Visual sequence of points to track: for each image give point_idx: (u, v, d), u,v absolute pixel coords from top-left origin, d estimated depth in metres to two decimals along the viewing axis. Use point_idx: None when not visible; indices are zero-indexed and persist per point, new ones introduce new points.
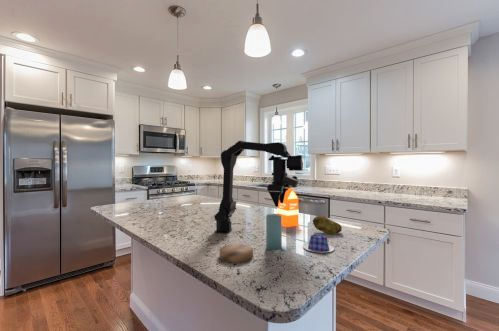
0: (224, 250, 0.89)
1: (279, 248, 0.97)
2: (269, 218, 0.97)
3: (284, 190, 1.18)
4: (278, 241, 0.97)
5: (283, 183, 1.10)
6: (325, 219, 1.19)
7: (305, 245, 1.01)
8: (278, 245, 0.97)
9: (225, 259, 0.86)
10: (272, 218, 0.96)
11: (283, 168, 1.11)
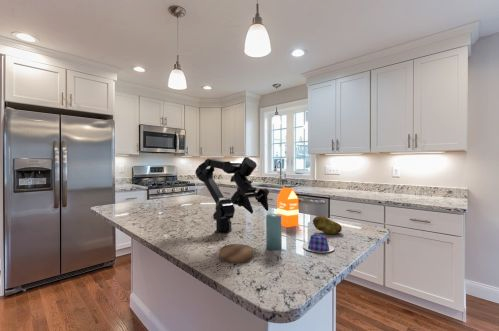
0: (224, 250, 0.89)
1: (279, 248, 0.97)
2: (269, 218, 0.97)
3: None
4: (278, 241, 0.97)
5: None
6: (325, 219, 1.19)
7: (305, 245, 1.02)
8: (278, 245, 0.97)
9: (225, 259, 0.86)
10: (272, 218, 0.96)
11: (241, 178, 1.11)
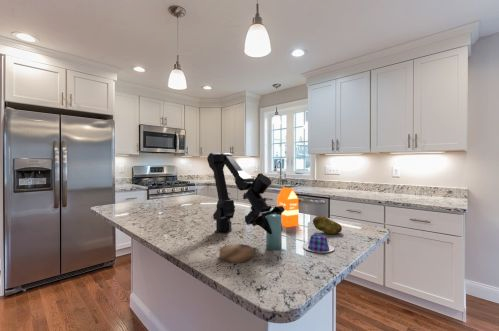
0: (224, 250, 0.89)
1: (279, 248, 0.97)
2: (269, 218, 0.97)
3: None
4: (278, 241, 0.97)
5: None
6: (325, 219, 1.19)
7: (306, 245, 1.02)
8: (278, 245, 0.97)
9: (225, 259, 0.86)
10: (272, 218, 0.96)
11: (255, 196, 1.04)
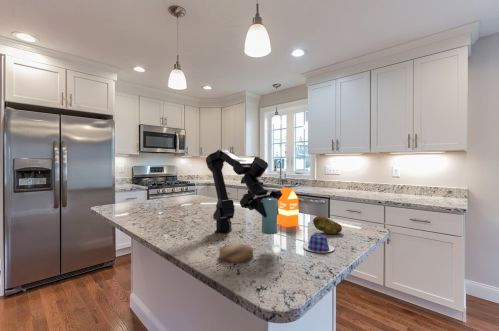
0: (224, 250, 0.89)
1: (274, 232, 0.95)
2: (264, 201, 0.95)
3: None
4: (273, 225, 0.95)
5: None
6: (325, 219, 1.19)
7: (306, 245, 1.02)
8: (273, 229, 0.95)
9: (225, 259, 0.86)
10: (267, 201, 0.95)
11: (252, 179, 1.03)
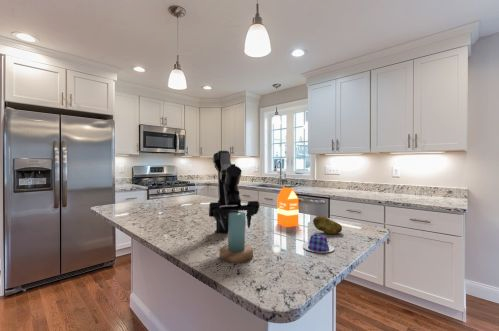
0: (224, 250, 0.89)
1: (237, 250, 0.88)
2: (229, 215, 0.90)
3: None
4: (236, 242, 0.88)
5: None
6: (325, 219, 1.19)
7: (306, 245, 1.02)
8: (236, 246, 0.88)
9: (225, 259, 0.86)
10: (230, 216, 0.89)
11: (228, 188, 0.99)
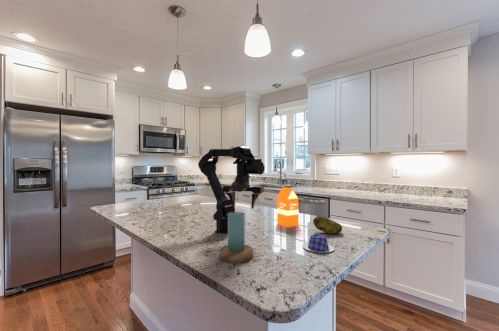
0: (224, 250, 0.89)
1: (237, 250, 0.88)
2: (228, 216, 0.90)
3: None
4: (236, 242, 0.88)
5: None
6: (325, 219, 1.19)
7: (307, 244, 1.03)
8: (236, 246, 0.88)
9: (225, 259, 0.86)
10: (229, 216, 0.89)
11: (244, 172, 1.13)
